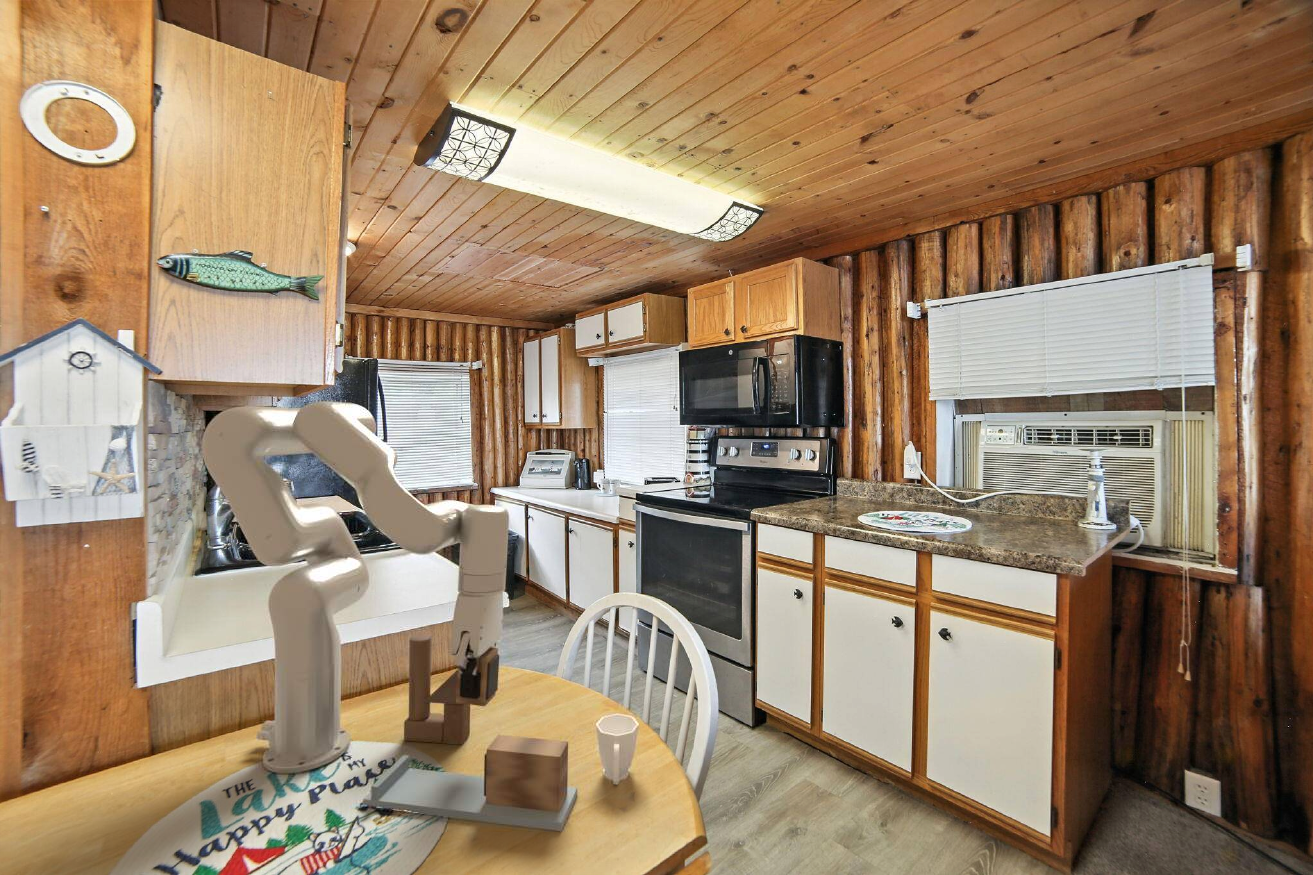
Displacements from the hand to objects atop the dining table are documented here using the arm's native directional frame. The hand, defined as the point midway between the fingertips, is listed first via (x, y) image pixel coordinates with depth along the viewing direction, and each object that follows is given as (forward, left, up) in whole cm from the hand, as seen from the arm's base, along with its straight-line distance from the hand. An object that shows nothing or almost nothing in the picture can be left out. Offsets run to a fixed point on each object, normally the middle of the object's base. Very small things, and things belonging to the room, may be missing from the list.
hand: (476, 689), depth 94 cm
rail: (+4, -9, -12) cm, 16 cm away
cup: (+24, 0, -13) cm, 27 cm away
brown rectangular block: (0, 0, -2) cm, 2 cm away
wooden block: (-10, +6, -13) cm, 17 cm away
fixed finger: (+12, -9, -11) cm, 19 cm away
